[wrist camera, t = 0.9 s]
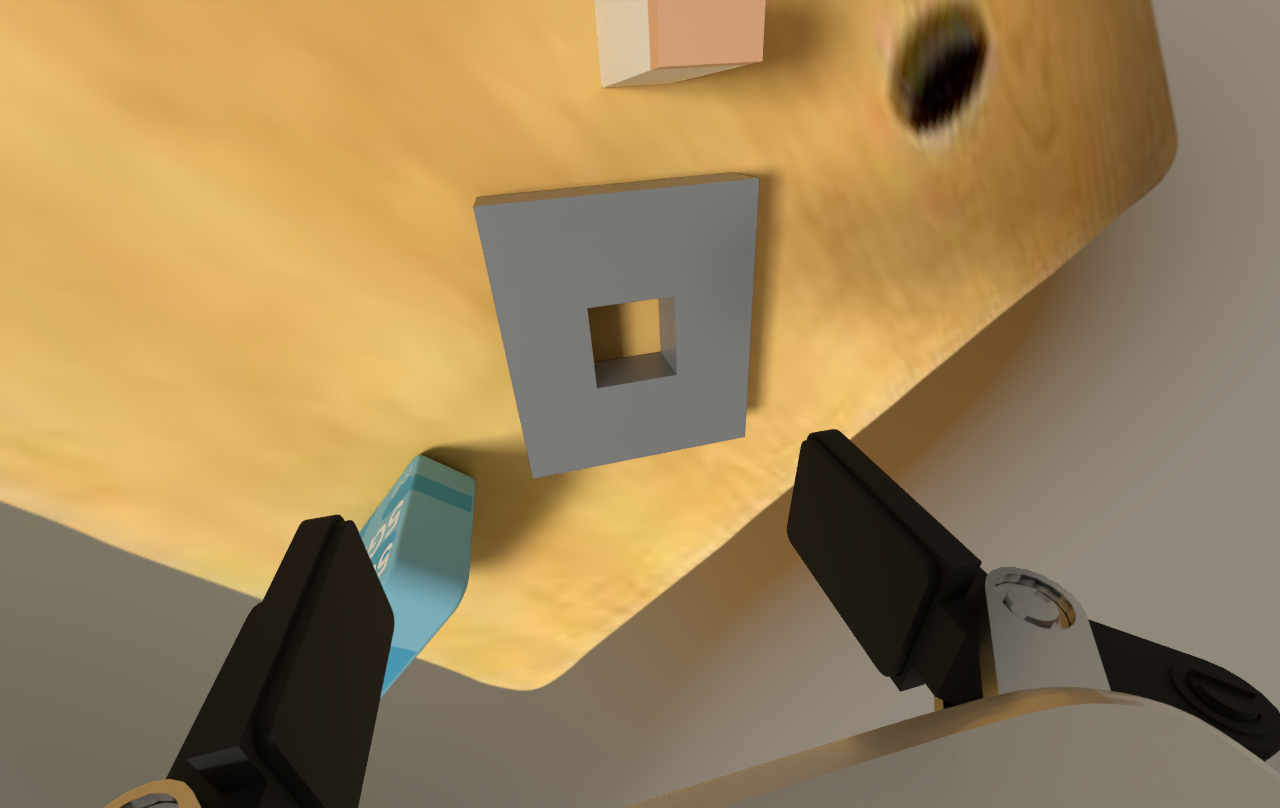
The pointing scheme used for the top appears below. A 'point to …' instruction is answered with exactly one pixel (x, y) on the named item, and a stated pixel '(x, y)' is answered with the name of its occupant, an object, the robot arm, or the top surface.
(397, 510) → the data package
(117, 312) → the top surface
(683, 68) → the plug
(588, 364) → the socket plate
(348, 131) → the top surface
